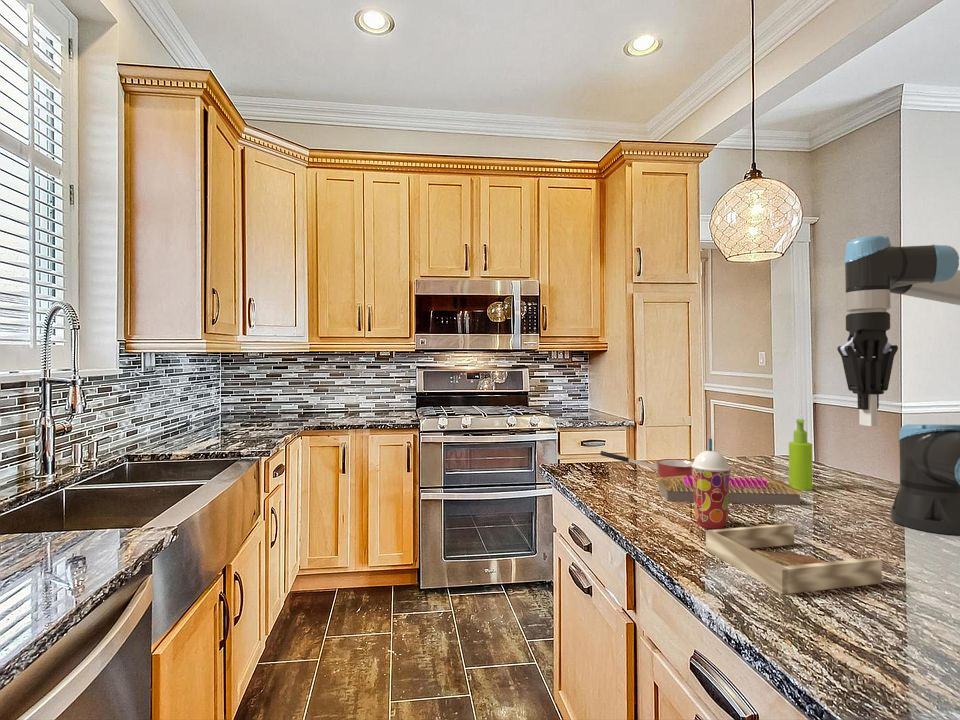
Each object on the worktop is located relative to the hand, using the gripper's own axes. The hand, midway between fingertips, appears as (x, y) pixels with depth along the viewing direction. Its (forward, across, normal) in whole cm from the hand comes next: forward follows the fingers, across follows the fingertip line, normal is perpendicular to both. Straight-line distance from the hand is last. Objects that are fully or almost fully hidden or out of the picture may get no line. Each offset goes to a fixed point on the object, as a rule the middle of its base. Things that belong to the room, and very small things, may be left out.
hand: (868, 425), depth 111 cm
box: (+24, +26, +7) cm, 36 cm away
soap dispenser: (+25, -22, -42) cm, 53 cm away
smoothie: (+25, +25, -17) cm, 39 cm away
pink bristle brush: (+25, +6, -38) cm, 46 cm away
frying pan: (+25, +12, -70) cm, 75 cm away
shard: (+25, +25, +7) cm, 36 cm away
